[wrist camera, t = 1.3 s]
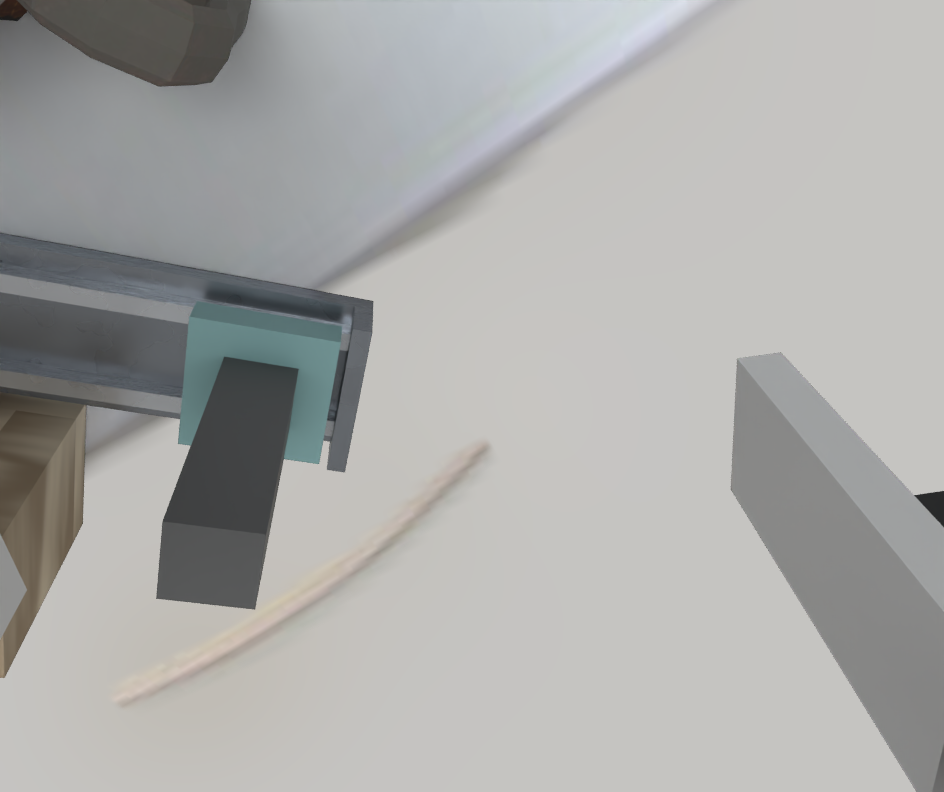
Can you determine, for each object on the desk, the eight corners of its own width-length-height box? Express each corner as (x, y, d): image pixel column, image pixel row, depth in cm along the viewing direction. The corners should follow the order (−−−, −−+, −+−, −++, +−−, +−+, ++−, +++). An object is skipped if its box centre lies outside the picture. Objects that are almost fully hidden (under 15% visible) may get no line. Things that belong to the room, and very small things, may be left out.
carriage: (185, 424, 38) (103, 628, 27) (196, 300, 35) (110, 472, 24) (321, 444, 39) (296, 648, 28) (342, 326, 36) (323, 501, 25)
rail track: (-56, 371, 38) (-94, 409, 35) (-65, 221, 35) (-107, 248, 32) (347, 432, 41) (344, 472, 38) (373, 301, 38) (372, 332, 35)
